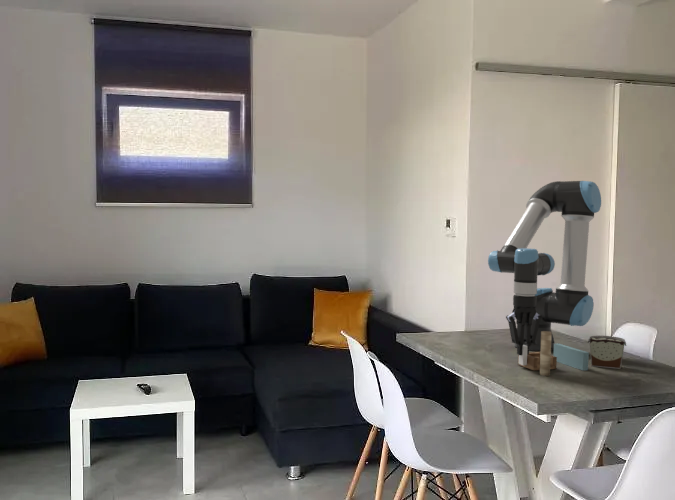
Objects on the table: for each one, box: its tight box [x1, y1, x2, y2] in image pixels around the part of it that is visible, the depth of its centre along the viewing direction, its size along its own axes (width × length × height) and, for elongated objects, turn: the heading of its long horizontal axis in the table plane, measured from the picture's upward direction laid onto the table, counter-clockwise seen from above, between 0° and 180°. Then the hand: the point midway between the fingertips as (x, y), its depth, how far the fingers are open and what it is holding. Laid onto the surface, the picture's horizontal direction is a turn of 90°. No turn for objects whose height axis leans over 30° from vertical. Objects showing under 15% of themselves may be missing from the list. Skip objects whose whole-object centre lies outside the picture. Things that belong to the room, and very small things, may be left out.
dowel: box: [539, 331, 553, 377], centre depth 221 cm, size 3×3×14 cm
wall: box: [552, 342, 590, 372], centre depth 236 cm, size 2×16×6 cm, turn 19°
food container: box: [587, 335, 627, 370], centre depth 236 cm, size 12×6×10 cm, turn 71°
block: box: [517, 351, 557, 371], centre depth 232 cm, size 9×9×4 cm
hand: (522, 364), depth 230 cm, fingers closed
